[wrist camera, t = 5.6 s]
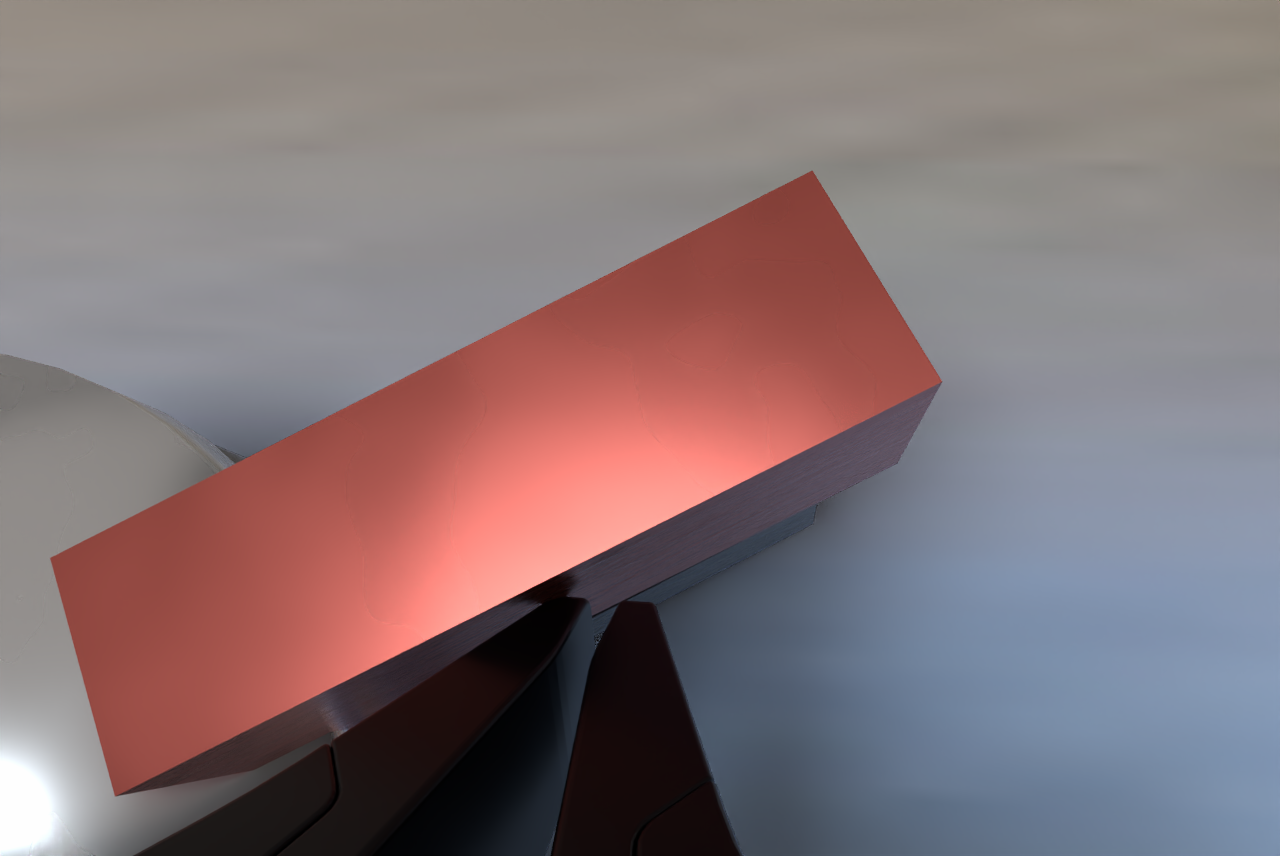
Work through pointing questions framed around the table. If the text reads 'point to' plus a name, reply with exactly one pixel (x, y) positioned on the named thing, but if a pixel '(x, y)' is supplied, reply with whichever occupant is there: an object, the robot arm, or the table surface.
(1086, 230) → the table surface
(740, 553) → the dark grey curved piece
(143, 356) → the table surface
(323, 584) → the lid
